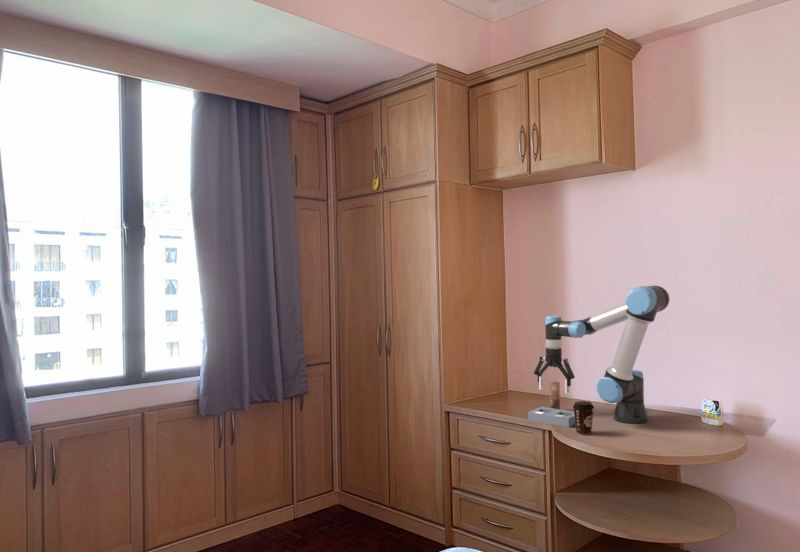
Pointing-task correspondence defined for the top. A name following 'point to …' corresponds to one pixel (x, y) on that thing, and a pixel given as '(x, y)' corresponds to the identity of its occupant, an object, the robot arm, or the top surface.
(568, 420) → the socket block
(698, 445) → the top surface
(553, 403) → the walnut plug
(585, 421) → the coffee cup
